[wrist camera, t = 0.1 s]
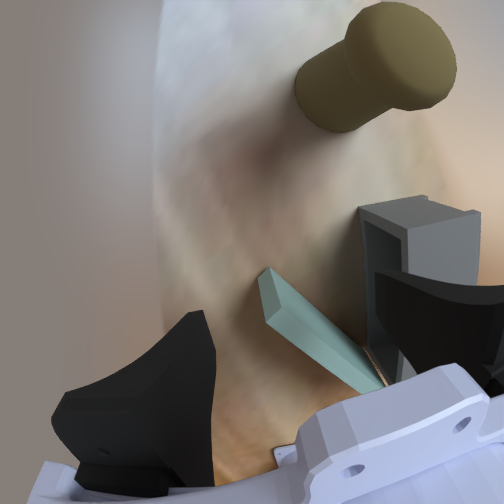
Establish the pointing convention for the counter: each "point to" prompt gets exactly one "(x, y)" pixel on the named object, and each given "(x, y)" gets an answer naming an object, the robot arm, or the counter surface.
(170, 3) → the counter surface
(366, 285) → the cupboard
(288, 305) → the sage green bent plank
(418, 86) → the cork
